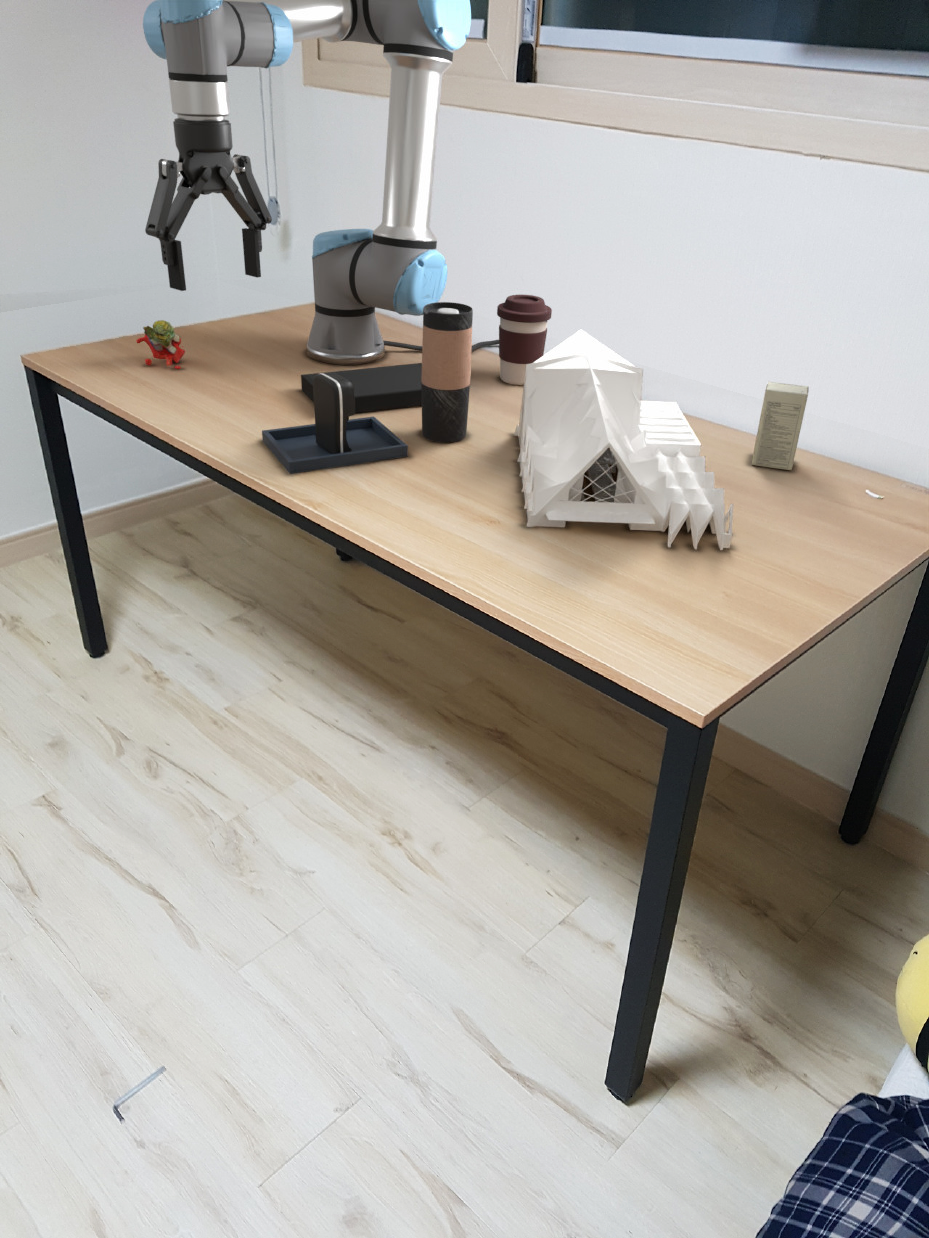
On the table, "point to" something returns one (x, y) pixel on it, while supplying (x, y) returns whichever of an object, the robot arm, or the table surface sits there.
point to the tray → (305, 455)
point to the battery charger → (332, 411)
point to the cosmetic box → (780, 425)
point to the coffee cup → (521, 335)
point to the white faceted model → (638, 440)
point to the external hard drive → (379, 386)
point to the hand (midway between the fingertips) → (216, 282)
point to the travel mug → (446, 370)
